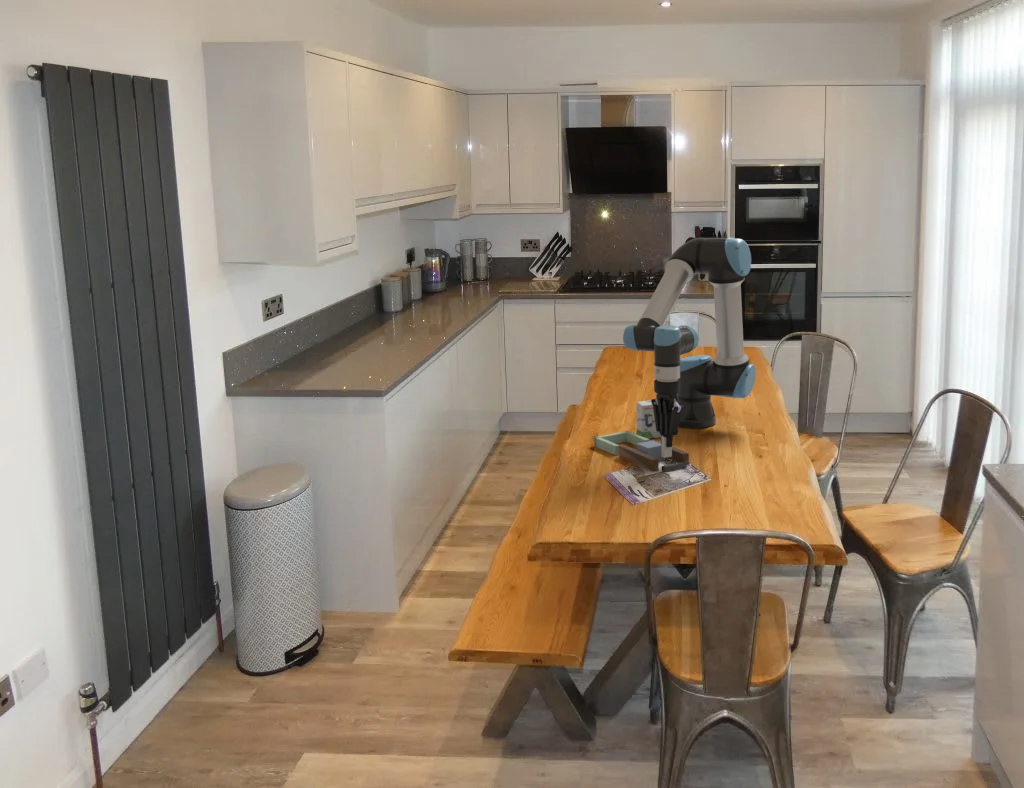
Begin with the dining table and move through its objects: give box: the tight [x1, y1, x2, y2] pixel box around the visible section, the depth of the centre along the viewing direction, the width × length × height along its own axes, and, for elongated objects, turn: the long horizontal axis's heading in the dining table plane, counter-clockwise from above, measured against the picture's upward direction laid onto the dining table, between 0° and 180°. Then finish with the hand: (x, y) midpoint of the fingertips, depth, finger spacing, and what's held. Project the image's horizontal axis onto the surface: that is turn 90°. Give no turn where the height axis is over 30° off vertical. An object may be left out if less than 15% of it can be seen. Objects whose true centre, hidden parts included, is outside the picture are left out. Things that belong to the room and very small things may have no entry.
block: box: [636, 439, 665, 462], centre depth 308 cm, size 6×6×5 cm
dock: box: [593, 430, 651, 456], centre depth 322 cm, size 13×12×3 cm
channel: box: [618, 439, 690, 473], centre depth 307 cm, size 13×18×4 cm
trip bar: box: [661, 462, 688, 473], centre depth 298 cm, size 8×2×2 cm, turn 117°
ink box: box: [636, 399, 661, 440], centre depth 333 cm, size 9×5×12 cm, turn 105°
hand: (666, 456), depth 301 cm, fingers closed
